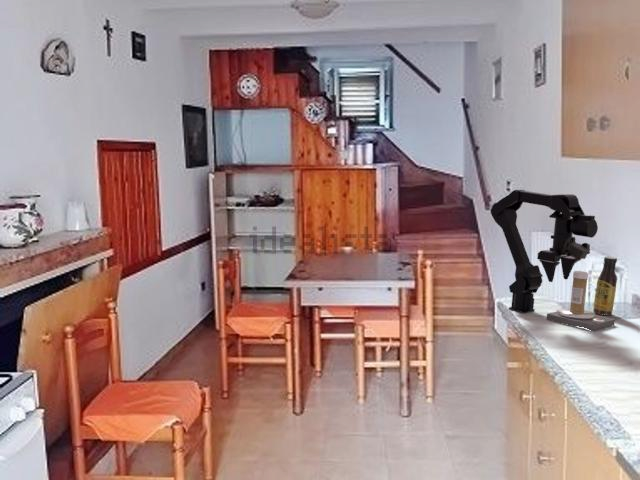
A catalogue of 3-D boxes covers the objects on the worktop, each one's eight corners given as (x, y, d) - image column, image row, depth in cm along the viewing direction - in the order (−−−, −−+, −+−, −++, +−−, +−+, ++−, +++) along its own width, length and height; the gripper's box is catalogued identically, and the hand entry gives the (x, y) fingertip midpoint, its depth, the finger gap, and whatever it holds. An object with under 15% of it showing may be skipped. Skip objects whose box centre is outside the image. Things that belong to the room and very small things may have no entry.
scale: (546, 319, 229) (547, 312, 229) (568, 314, 238) (569, 307, 238) (592, 331, 217) (593, 323, 217) (614, 325, 227) (615, 317, 226)
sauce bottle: (588, 312, 243) (595, 255, 240) (601, 311, 246) (608, 255, 243) (604, 316, 238) (610, 259, 235) (617, 315, 240) (623, 258, 238)
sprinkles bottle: (586, 313, 228) (591, 272, 226) (578, 314, 226) (582, 273, 224) (575, 310, 232) (579, 270, 230) (566, 311, 229) (570, 271, 227)
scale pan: (549, 313, 230) (549, 310, 230) (568, 309, 237) (568, 306, 237) (582, 321, 221) (582, 318, 221) (600, 316, 229) (601, 313, 228)
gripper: (571, 238, 214) (565, 288, 217) (601, 235, 226) (595, 282, 229) (538, 233, 223) (534, 281, 225) (569, 230, 235) (564, 276, 237)
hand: (558, 280), depth 229 cm, fingers open, 9 cm apart
